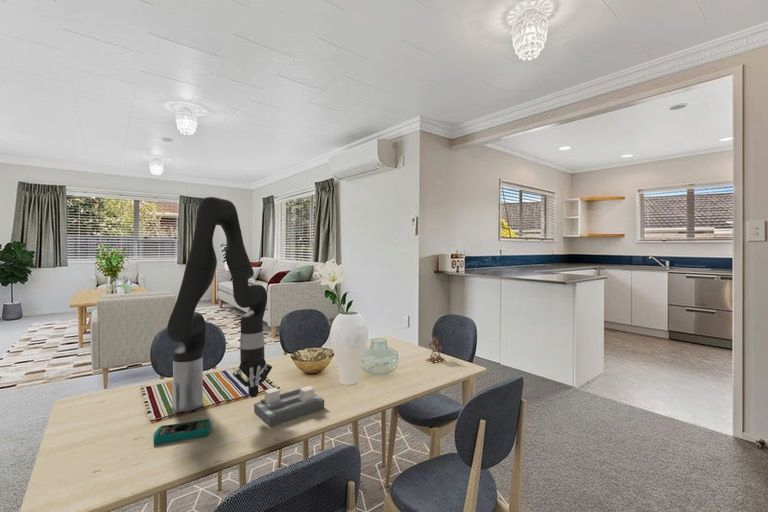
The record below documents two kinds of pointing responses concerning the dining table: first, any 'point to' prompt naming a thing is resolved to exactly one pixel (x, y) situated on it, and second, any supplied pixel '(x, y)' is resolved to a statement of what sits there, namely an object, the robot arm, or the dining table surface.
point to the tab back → (272, 395)
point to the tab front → (306, 393)
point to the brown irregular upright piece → (435, 351)
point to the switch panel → (287, 408)
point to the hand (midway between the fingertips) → (253, 396)
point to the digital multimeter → (182, 431)
